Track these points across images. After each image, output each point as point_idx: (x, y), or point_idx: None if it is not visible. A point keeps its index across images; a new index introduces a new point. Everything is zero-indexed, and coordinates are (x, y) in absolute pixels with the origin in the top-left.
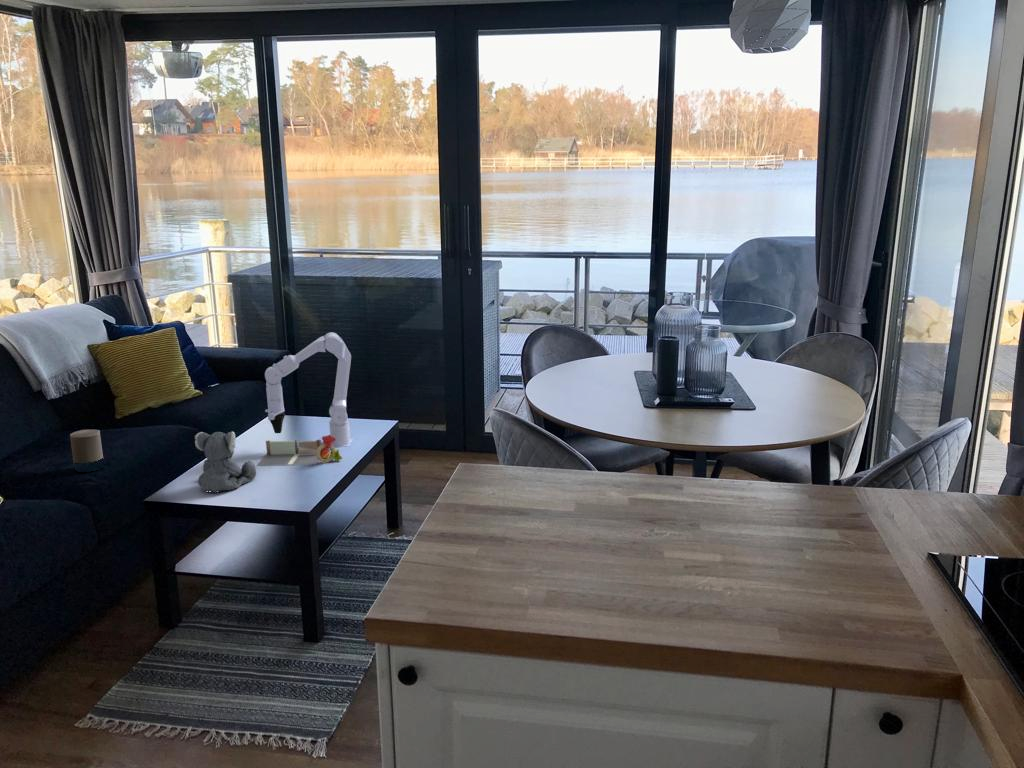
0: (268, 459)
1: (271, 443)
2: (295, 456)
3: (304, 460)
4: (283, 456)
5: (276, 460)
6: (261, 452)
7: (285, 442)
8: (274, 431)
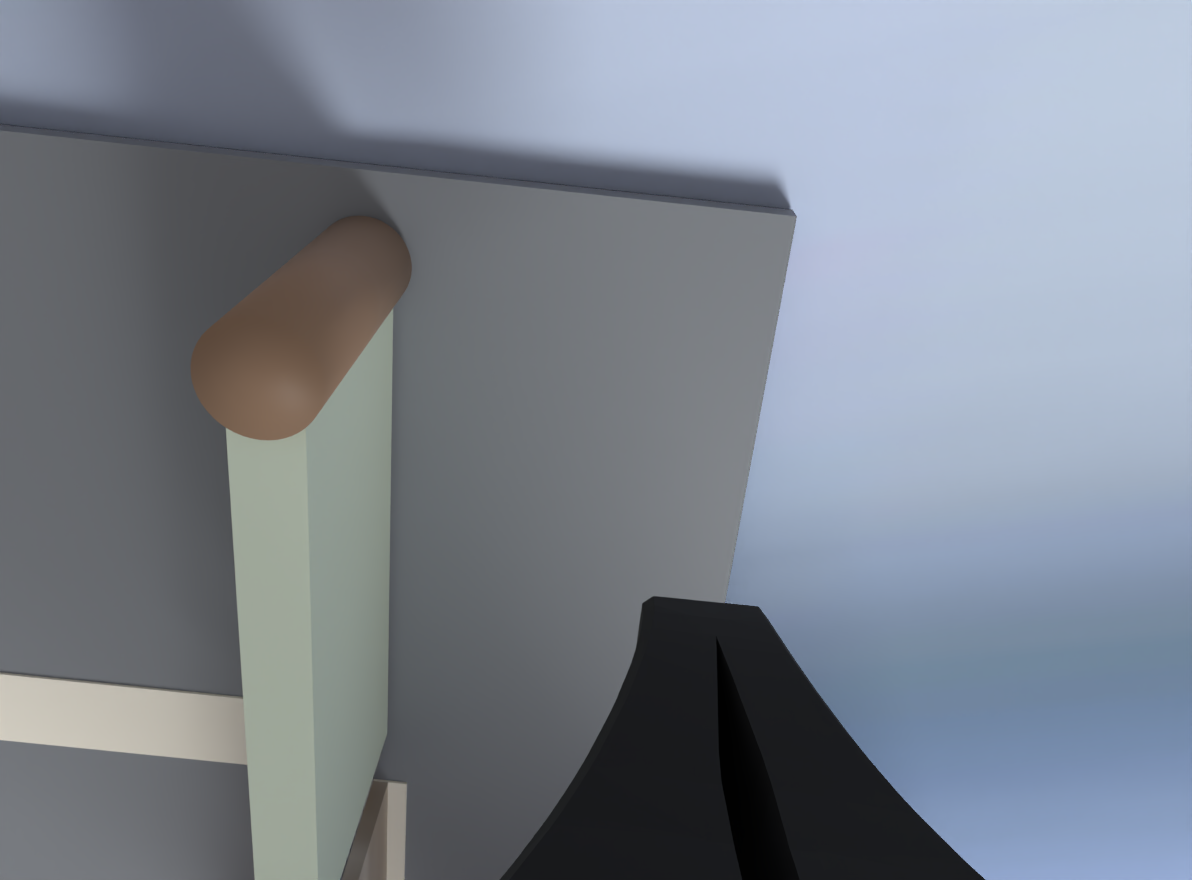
0: (58, 292)
1: (243, 449)
2: (235, 732)
3: (55, 859)
4: None
5: (12, 456)
6: (660, 11)
7: (254, 769)
8: (648, 622)
